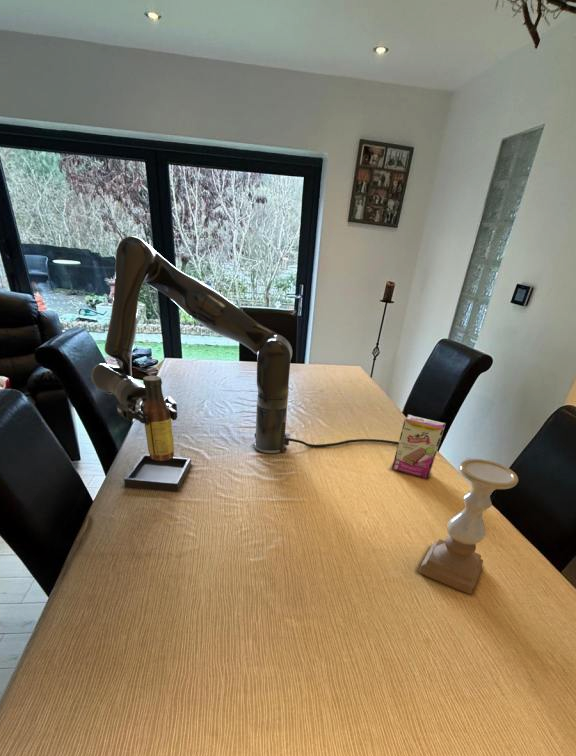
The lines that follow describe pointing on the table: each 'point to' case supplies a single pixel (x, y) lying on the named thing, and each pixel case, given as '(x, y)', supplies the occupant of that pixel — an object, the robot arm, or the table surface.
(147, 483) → the dark square tray
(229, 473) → the table surface
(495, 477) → the candle holder
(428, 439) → the candy bar box
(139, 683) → the table surface
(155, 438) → the sauce bottle
